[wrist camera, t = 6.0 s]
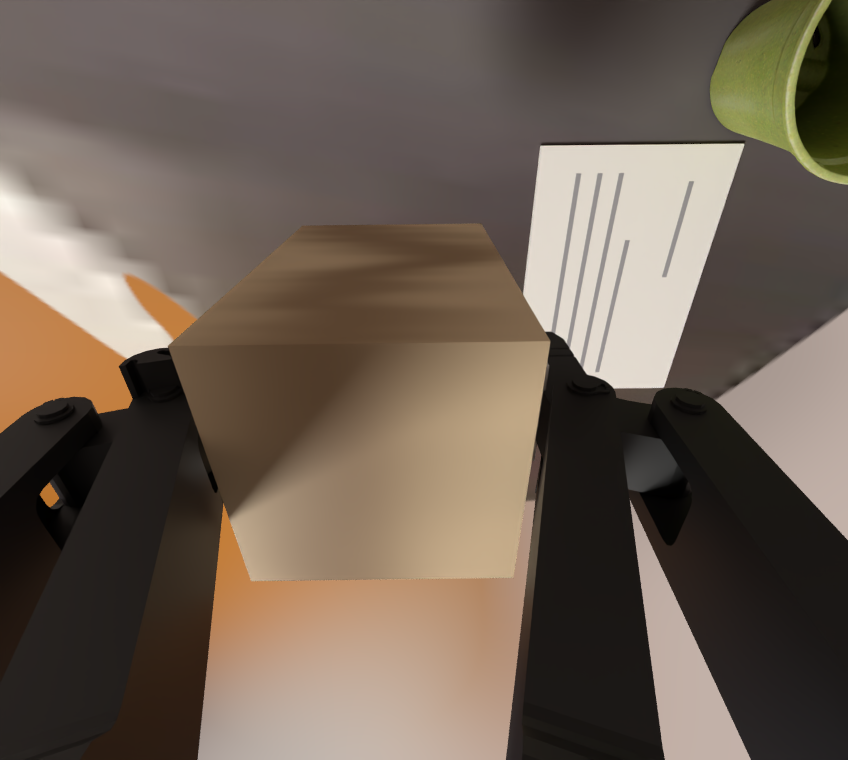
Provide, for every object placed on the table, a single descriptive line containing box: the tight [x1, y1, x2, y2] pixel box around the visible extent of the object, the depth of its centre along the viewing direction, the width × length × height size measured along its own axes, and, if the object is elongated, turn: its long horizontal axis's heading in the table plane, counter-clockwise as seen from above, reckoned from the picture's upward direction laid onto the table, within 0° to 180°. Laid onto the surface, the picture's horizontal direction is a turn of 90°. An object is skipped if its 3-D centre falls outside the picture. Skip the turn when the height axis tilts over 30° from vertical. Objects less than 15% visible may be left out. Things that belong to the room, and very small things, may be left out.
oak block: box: [168, 224, 551, 581], centre depth 12 cm, size 6×6×9 cm
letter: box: [523, 144, 744, 388], centre depth 30 cm, size 12×17×1 cm
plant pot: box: [710, 0, 848, 185], centre depth 20 cm, size 9×9×9 cm
